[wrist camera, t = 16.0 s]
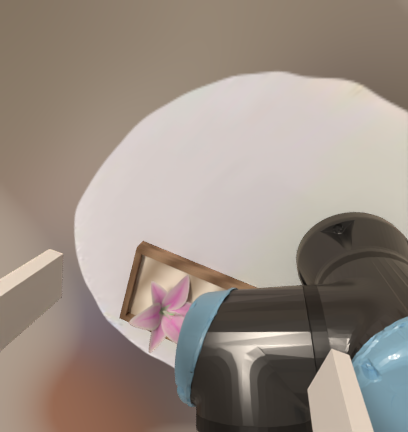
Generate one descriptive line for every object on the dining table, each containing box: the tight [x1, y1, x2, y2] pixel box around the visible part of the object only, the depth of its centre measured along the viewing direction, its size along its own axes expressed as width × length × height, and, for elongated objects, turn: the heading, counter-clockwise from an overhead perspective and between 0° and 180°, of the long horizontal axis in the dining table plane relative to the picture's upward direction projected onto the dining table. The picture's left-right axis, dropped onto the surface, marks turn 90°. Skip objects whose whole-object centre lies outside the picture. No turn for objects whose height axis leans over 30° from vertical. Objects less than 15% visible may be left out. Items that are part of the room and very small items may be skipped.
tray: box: [120, 241, 256, 342], centre depth 49 cm, size 30×16×2 cm, turn 72°
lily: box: [129, 275, 192, 353], centre depth 46 cm, size 12×12×10 cm
